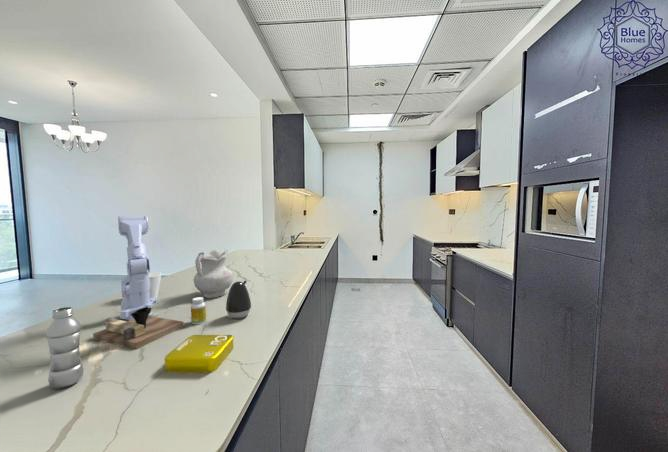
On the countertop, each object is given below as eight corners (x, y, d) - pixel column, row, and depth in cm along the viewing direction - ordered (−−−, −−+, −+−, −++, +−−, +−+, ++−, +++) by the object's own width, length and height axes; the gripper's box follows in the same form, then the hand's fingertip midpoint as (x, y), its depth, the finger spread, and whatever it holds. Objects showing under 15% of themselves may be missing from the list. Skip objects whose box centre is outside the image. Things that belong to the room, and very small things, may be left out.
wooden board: (93, 339, 95) (92, 325, 95) (143, 319, 112) (143, 308, 112) (136, 348, 88) (135, 334, 88) (183, 326, 105) (183, 314, 105)
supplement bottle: (200, 325, 106) (199, 301, 106) (188, 324, 107) (187, 300, 107) (208, 319, 111) (208, 296, 111) (197, 318, 112) (196, 296, 112)
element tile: (191, 346, 90) (191, 332, 90) (235, 347, 89) (235, 333, 89) (161, 373, 75) (161, 357, 75) (214, 374, 74) (213, 357, 74)
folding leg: (104, 329, 97) (103, 319, 97) (113, 326, 100) (112, 316, 100) (135, 337, 91) (135, 326, 91) (144, 333, 94) (144, 322, 94)
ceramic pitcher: (220, 304, 134) (223, 254, 132) (182, 301, 134) (184, 252, 133) (237, 291, 155) (239, 249, 154) (204, 289, 155) (206, 246, 154)
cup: (157, 293, 149) (156, 271, 148) (166, 297, 142) (165, 274, 141) (132, 298, 139) (130, 275, 139) (140, 303, 132) (139, 278, 132)
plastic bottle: (64, 377, 73) (59, 305, 72) (91, 375, 74) (86, 304, 72) (40, 393, 67) (35, 314, 65) (69, 391, 67) (65, 313, 66)
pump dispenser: (256, 313, 118) (255, 279, 117) (241, 322, 108) (240, 285, 107) (237, 310, 121) (236, 277, 121) (220, 319, 112) (219, 283, 111)
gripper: (133, 298, 88) (135, 338, 89) (164, 286, 102) (166, 320, 103) (113, 298, 88) (115, 338, 89) (147, 286, 103) (148, 320, 104)
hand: (141, 328), depth 96 cm, fingers closed
